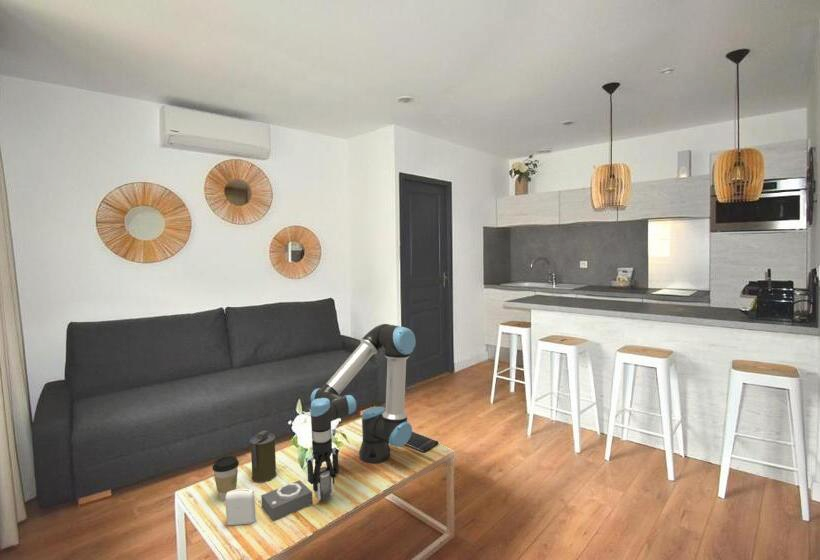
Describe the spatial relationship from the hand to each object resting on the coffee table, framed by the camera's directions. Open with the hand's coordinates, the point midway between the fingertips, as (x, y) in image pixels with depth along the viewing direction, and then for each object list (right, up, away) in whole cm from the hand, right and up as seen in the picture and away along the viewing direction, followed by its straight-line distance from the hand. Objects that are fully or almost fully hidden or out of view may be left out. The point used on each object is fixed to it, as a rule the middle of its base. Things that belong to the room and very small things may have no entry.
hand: (324, 494), depth 167 cm
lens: (0, -1, 0) cm, 1 cm away
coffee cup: (-40, -3, +4) cm, 41 cm away
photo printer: (-28, -4, -12) cm, 31 cm away
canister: (-31, -2, +19) cm, 36 cm away
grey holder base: (-13, -3, -2) cm, 14 cm away
